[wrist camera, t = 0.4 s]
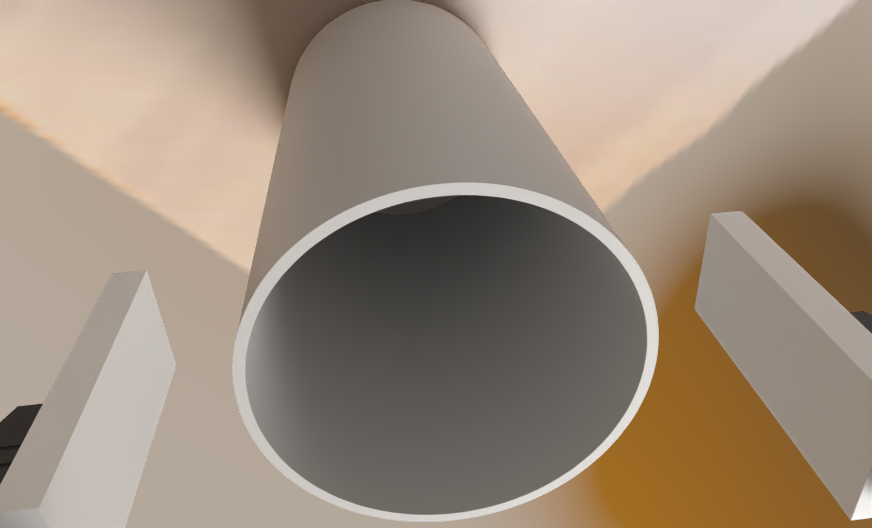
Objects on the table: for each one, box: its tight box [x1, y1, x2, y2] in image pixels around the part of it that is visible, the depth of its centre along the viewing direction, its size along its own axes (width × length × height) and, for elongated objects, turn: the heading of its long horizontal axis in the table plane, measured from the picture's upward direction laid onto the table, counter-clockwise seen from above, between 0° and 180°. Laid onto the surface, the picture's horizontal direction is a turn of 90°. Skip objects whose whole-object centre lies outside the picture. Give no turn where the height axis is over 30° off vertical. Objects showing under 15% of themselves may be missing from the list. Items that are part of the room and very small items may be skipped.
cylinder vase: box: [233, 0, 659, 522], centre depth 32 cm, size 12×12×25 cm
